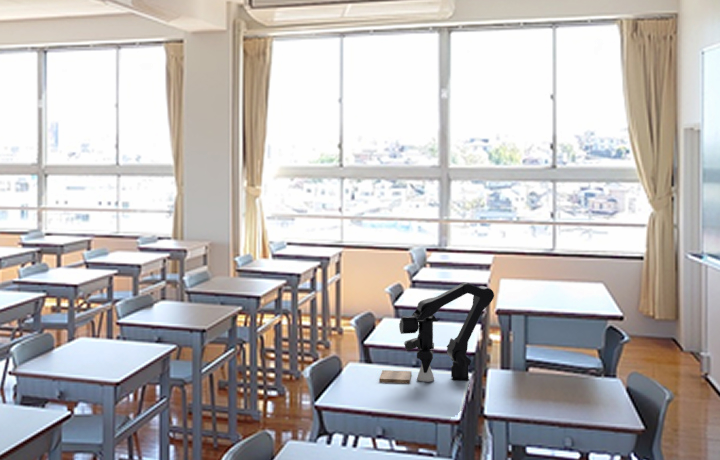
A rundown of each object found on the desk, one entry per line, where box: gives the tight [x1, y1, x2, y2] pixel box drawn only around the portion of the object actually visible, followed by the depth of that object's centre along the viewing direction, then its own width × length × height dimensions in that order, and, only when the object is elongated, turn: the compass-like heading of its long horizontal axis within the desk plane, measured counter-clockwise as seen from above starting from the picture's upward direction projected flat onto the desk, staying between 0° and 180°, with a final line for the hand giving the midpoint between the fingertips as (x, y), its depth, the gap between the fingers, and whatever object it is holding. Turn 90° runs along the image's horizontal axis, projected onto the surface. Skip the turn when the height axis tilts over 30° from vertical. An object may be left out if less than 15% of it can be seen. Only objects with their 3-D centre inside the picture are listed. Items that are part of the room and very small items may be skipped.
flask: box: [416, 364, 435, 383], centre depth 260 cm, size 7×7×10 cm
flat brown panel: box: [378, 369, 412, 384], centre depth 263 cm, size 12×12×2 cm
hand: (425, 370), depth 260 cm, fingers closed on flask, 5 cm apart
